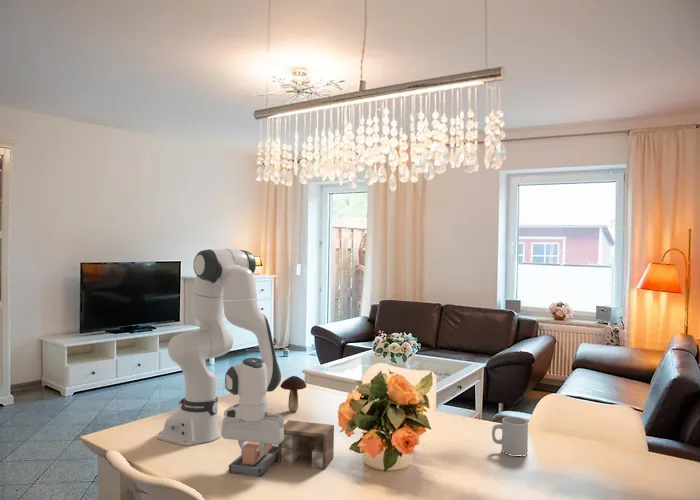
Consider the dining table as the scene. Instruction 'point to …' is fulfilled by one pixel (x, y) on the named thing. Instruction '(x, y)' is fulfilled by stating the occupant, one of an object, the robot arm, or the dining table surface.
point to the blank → (253, 452)
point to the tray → (258, 467)
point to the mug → (513, 435)
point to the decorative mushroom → (293, 390)
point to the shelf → (307, 443)
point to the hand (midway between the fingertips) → (252, 454)
